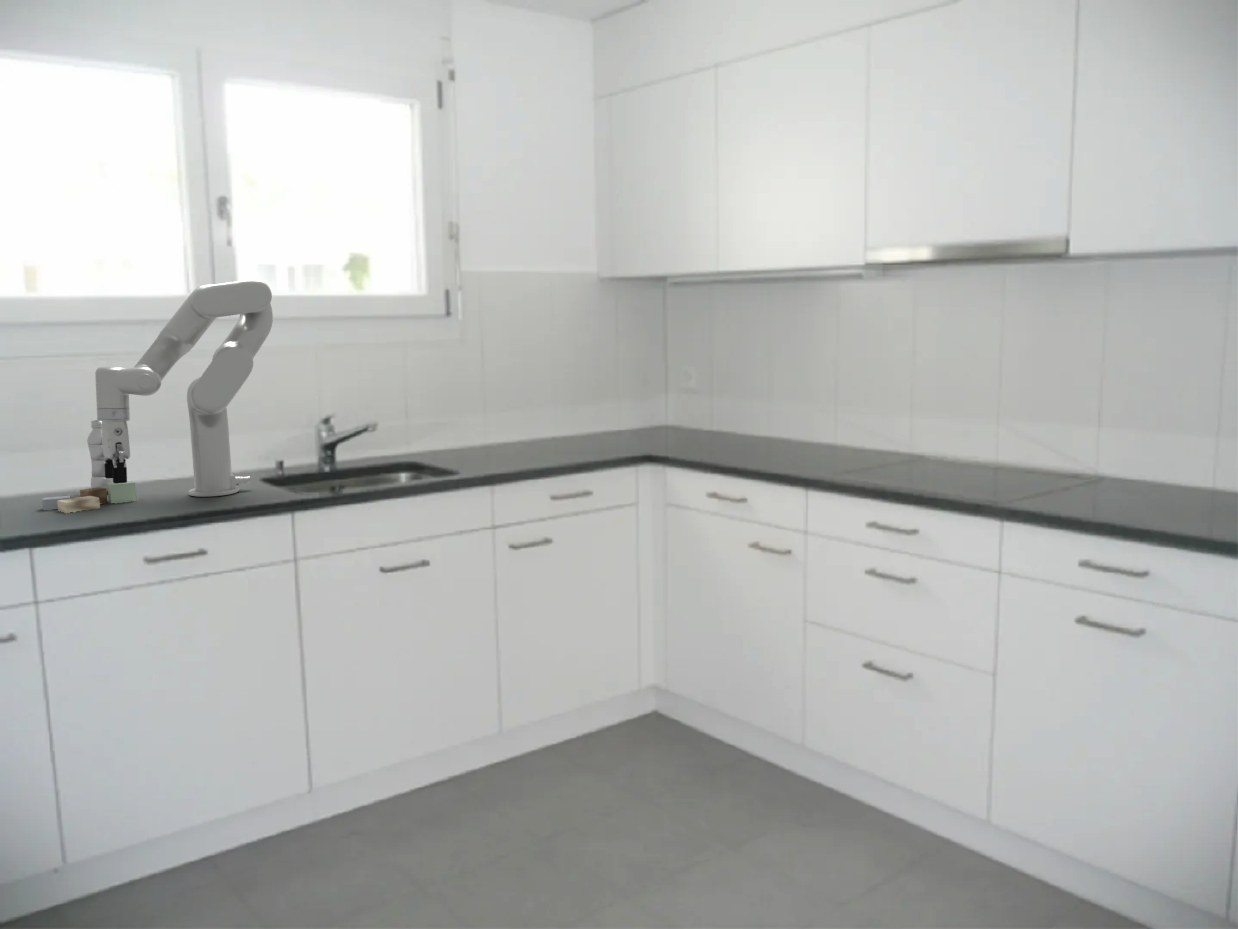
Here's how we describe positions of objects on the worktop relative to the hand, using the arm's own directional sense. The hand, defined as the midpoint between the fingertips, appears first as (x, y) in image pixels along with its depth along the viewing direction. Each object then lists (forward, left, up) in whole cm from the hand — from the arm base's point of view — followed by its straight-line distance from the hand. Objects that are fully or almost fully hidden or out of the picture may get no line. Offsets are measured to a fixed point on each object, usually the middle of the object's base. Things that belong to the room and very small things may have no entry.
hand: (116, 480), depth 260 cm
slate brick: (+14, 0, -6) cm, 15 cm away
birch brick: (+10, +5, -6) cm, 13 cm away
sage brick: (-1, 0, -6) cm, 6 cm away
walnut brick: (+5, -1, -6) cm, 8 cm away
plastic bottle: (0, -17, -6) cm, 18 cm away
